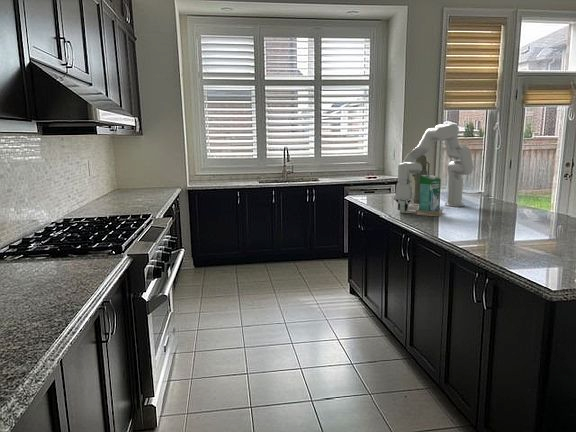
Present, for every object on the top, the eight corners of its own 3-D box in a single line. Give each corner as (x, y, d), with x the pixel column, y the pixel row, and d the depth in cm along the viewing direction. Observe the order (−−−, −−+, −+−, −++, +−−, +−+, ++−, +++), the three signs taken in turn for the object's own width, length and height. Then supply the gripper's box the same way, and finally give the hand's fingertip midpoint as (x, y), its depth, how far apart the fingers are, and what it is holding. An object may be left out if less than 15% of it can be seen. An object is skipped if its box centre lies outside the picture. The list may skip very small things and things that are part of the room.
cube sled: (399, 207, 306) (399, 196, 304) (421, 208, 299) (421, 197, 298) (397, 209, 299) (397, 197, 298) (419, 210, 293) (419, 198, 291)
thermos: (429, 204, 317) (431, 155, 310) (412, 204, 318) (413, 156, 312) (427, 202, 325) (428, 155, 319) (410, 202, 327) (412, 155, 320)
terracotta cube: (412, 209, 300) (412, 203, 300) (418, 209, 299) (418, 203, 298) (411, 210, 297) (411, 204, 296) (417, 210, 295) (417, 204, 294)
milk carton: (429, 215, 276) (430, 176, 272) (418, 213, 284) (419, 175, 279) (439, 214, 280) (441, 175, 276) (429, 212, 288) (430, 174, 284)
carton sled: (402, 210, 296) (403, 198, 295) (442, 212, 286) (442, 200, 284) (398, 213, 284) (398, 201, 282) (439, 216, 273) (439, 203, 271)
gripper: (417, 181, 285) (416, 209, 289) (392, 180, 292) (391, 208, 296) (415, 182, 279) (414, 211, 282) (389, 182, 286) (389, 210, 289)
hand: (403, 209), depth 289 cm, fingers closed on carton sled, 3 cm apart
